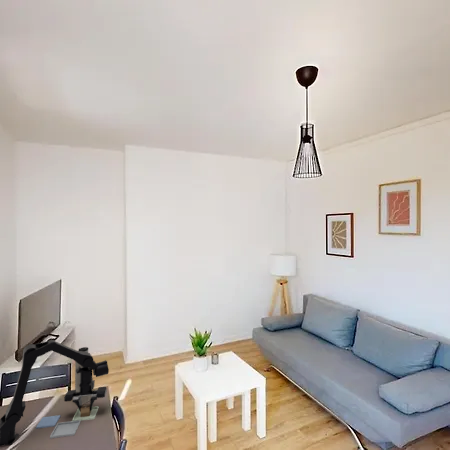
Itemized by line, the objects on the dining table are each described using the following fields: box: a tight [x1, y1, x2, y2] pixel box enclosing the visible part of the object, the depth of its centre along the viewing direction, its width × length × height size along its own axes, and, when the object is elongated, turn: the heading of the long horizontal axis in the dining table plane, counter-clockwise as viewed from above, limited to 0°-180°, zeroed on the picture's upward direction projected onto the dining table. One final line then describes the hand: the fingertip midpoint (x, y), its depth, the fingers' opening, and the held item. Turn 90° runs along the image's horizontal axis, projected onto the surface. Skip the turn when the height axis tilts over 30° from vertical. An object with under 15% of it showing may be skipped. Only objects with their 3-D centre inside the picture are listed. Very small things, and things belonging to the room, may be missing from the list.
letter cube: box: [81, 403, 91, 417], centre depth 150 cm, size 4×4×4 cm
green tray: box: [71, 405, 100, 421], centre depth 150 cm, size 10×10×1 cm
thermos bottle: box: [74, 346, 92, 405], centre depth 165 cm, size 8×8×28 cm
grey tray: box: [49, 420, 81, 440], centre depth 138 cm, size 10×10×1 cm
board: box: [35, 414, 61, 429], centre depth 144 cm, size 8×8×1 cm
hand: (86, 411), depth 150 cm, fingers closed on letter cube, 4 cm apart
